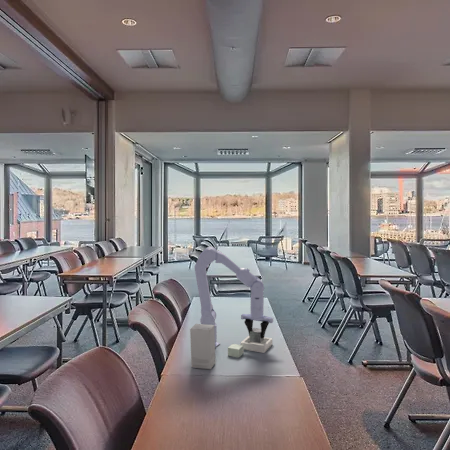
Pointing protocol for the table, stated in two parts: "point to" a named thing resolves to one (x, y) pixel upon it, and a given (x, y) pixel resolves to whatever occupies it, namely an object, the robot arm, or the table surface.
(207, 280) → the robot arm
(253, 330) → the metal block
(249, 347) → the box
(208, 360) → the skincare box
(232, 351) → the pale green box
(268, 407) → the table surface
